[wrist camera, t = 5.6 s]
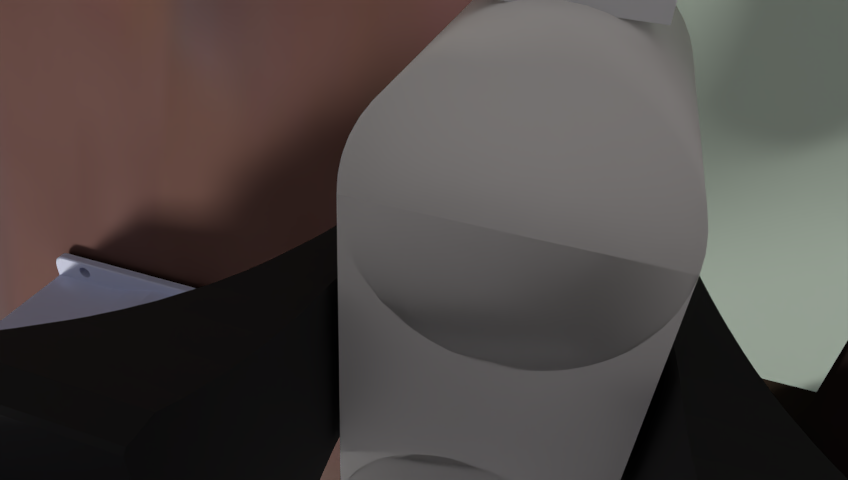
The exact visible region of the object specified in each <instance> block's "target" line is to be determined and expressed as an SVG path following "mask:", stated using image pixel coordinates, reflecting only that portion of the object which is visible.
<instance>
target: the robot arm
mask: <svg viewBox="0 0 848 480" xmlns="http://www.w3.org/2000/svg"><path fill="white" fill-rule="evenodd" d="M56 264H57V268H58V271H59V274H60V275H59V276H58V277H57V278H55V279H54V280H53V281H52V282H50V283H49V284H48V285H46V286H45V287H44V288H43V289H41V290H40V291H39V292H37V293H36V294H35V295H33V296H32V297H31V298H30V299H28V300H27V301H26V302H24V303H23V304H22V305H21V306H19V307H18V308H17V309H15V310H14V311H13V312H11V313H10V314H9V315H8V316H6V317H5V318H4V319H2V320H1V321H0V480H320V478H321V475H322V473H323V471H324V469H325V466H326V464H327V462H328V460H329V457H330V455H331V453H332V451H333V448H334V446H335V444H336V442H337V441H338V439H339V437H340V404H339V335H338V266H337V226H335V227H333V228H331V229H330V230H328V231H326V232H324V233H322V234H321V235H319V236H317V237H315V238H314V239H312V240H310V241H308V242H306V243H304V244H302V245H300V246H298V247H296V248H294V249H292V250H290V251H288V252H286V253H284V254H282V255H280V256H278V257H276V258H274V259H272V260H269V261H267V262H265V263H263V264H260V265H258V266H256V267H253V268H251V269H249V270H246V271H244V272H241V273H239V274H236V275H233V276H231V277H228V278H226V279H223V280H220V281H218V282H215V283H212V284H209V285H206V286H203V287H200V288H193V287H190V286H186V285H182V284H179V283H175V282H171V281H168V280H164V279H160V278H157V277H153V276H149V275H146V274H142V273H138V272H134V271H131V270H127V269H123V268H120V267H116V266H112V265H109V264H105V263H101V262H98V261H94V260H90V259H87V258H83V257H79V256H76V255H72V254H68V253H64V254H62V255H61V256H60V257H58V258H57V260H56ZM621 480H848V479H847V478H846V477H845V476H844V475H843V474H842V473H841V472H840V471H839V470H838V469H837V468H836V467H835V466H834V465H833V464H832V462H831V461H830V460H829V459H828V458H827V457H826V456H825V455H824V454H823V453H822V452H821V451H820V450H819V448H818V447H817V446H816V445H815V444H814V443H813V442H812V441H811V439H810V438H809V437H808V436H807V435H806V434H805V432H804V431H803V430H802V429H801V428H800V427H799V425H798V424H797V423H796V422H795V421H794V419H793V418H792V417H791V416H790V415H789V414H788V412H787V411H786V410H785V409H784V408H783V406H782V405H781V404H780V403H779V401H778V400H777V399H776V397H775V396H774V395H773V394H772V392H771V391H770V390H769V388H768V387H767V385H766V384H765V383H764V381H763V380H762V378H761V377H760V376H759V374H758V373H757V371H756V370H755V369H754V367H753V366H752V364H751V363H750V361H749V360H748V358H747V357H746V355H745V354H744V352H743V350H742V349H741V347H740V346H739V344H738V342H737V341H736V339H735V338H734V336H733V334H732V333H731V331H730V329H729V328H728V326H727V325H726V323H725V321H724V319H723V318H722V316H721V314H720V312H719V311H718V309H717V307H716V305H715V303H714V302H713V300H712V298H711V296H710V294H709V293H708V291H707V289H706V287H705V285H704V283H703V281H702V279H701V277H700V276H699V278H698V281H697V283H696V286H695V288H694V291H693V293H692V296H691V299H690V301H689V304H688V306H687V309H686V312H685V314H684V317H683V319H682V322H681V325H680V327H679V330H678V332H677V335H676V338H675V340H674V343H673V345H672V348H671V350H670V353H669V356H668V358H667V361H666V363H665V366H664V369H663V371H662V374H661V376H660V379H659V382H658V384H657V387H656V389H655V392H654V394H653V397H652V400H651V402H650V405H649V407H648V410H647V413H646V415H645V418H644V420H643V423H642V426H641V428H640V431H639V433H638V436H637V438H636V441H635V444H634V446H633V449H632V451H631V454H630V457H629V459H628V462H627V464H626V467H625V470H624V472H623V475H622V477H621Z"/></svg>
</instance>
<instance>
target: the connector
mask: <svg viewBox="0 0 848 480" xmlns="http://www.w3.org/2000/svg"><path fill="white" fill-rule="evenodd" d="M676 3H677V0H473V1H472V2H471V3H470V4H469V5H468V6H467V7H466V8H465V9H464V10H463V11H462V12H461V13H460V14H459V15H458V16H457V17H456V18H455V19H454V20H453V21H452V22H451V23H450V24H449V25H448V26H447V27H446V28H445V29H444V30H443V31H442V32H441V33H440V34H439V35H438V36H437V37H436V38H435V39H434V40H433V41H432V42H431V43H430V44H429V45H428V46H427V47H426V48H425V49H424V50H423V51H422V52H421V53H420V54H419V55H418V56H417V57H416V58H415V59H414V60H413V61H412V62H411V63H410V64H409V65H408V66H407V67H406V68H405V69H404V70H403V71H402V72H401V73H400V74H399V75H398V76H397V77H396V78H395V79H394V80H393V81H392V82H391V83H390V84H389V85H388V86H387V87H386V88H385V89H384V90H383V91H382V92H381V93H380V94H379V95H378V96H377V97H376V98H375V99H373V100H372V102H371V103H370V104H369V106H368V107H367V108H366V109H365V111H364V112H363V113H362V114H361V116H360V117H359V118H358V120H357V122H356V124H355V126H354V127H353V129H352V131H351V133H350V135H349V137H348V139H347V142H346V145H345V147H344V150H343V153H342V156H341V160H340V165H339V170H338V176H337V193H336V197H337V266H338V335H339V404H340V473H341V480H621V477H622V475H623V472H624V470H625V467H626V464H627V462H628V459H629V457H630V454H631V451H632V449H633V446H634V444H635V441H636V438H637V436H638V433H639V431H640V428H641V426H642V423H643V420H644V418H645V415H646V413H647V410H648V407H649V405H650V402H651V400H652V397H653V394H654V392H655V389H656V387H657V384H658V382H659V379H660V376H661V374H662V371H663V369H664V366H665V363H666V361H667V358H668V356H669V353H670V350H671V348H672V345H673V343H674V340H675V338H676V335H677V332H678V330H679V327H680V325H681V322H682V319H683V317H684V314H685V312H686V309H687V306H688V304H689V301H690V299H691V296H692V293H693V291H694V288H695V286H696V283H697V281H698V278H699V275H700V272H701V269H702V265H703V262H704V258H705V255H706V248H707V239H708V213H707V200H706V189H705V178H704V168H703V157H702V146H701V135H700V124H699V113H698V102H697V91H696V80H695V70H694V59H693V50H692V45H691V40H690V35H689V32H688V29H687V27H686V24H685V21H684V19H683V17H682V15H681V13H680V11H679V9H678V8H677V6H676Z"/></svg>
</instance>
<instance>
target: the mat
mask: <svg viewBox="0 0 848 480" xmlns="http://www.w3.org/2000/svg"><path fill="white" fill-rule="evenodd" d="M676 6H677V8H678V9H679V11H680V13H681V15H682V17H683V19H684V21H685V24H686V27H687V29H688V32H689V35H690V40H691V45H692V50H693V59H694V70H695V80H696V91H697V102H698V113H699V124H700V135H701V146H702V157H703V168H704V178H705V189H706V200H707V213H708V239H707V248H706V255H705V258H704V262H703V265H702V269H701V272H700V275H699V276H700V277H701V279H702V281H703V283H704V285H705V287H706V289H707V291H708V293H709V294H710V296H711V298H712V300H713V302H714V303H715V305H716V307H717V309H718V311H719V312H720V314H721V316H722V318H723V319H724V321H725V323H726V325H727V326H728V328H729V329H730V331H731V333H732V334H733V336H734V338H735V339H736V341H737V342H738V344H739V346H740V347H741V349H742V350H743V352H744V354H745V355H746V357H747V358H748V360H749V361H750V363H751V364H752V366H753V367H754V369H755V370H756V371H757V373H758V374H759V376H760V377H761V378H763V379H767V380H771V381H775V382H779V383H783V384H787V385H791V386H795V387H799V388H802V389H806V390H810V391H814V392H817V391H818V389H819V387H820V386H821V384H822V382H823V381H824V379H825V377H826V376H827V374H828V372H829V371H830V369H831V367H832V366H833V364H834V362H835V361H836V359H837V357H838V356H839V354H840V352H841V351H842V349H843V347H844V346H845V344H846V342H847V341H848V0H677V3H676Z"/></svg>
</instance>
